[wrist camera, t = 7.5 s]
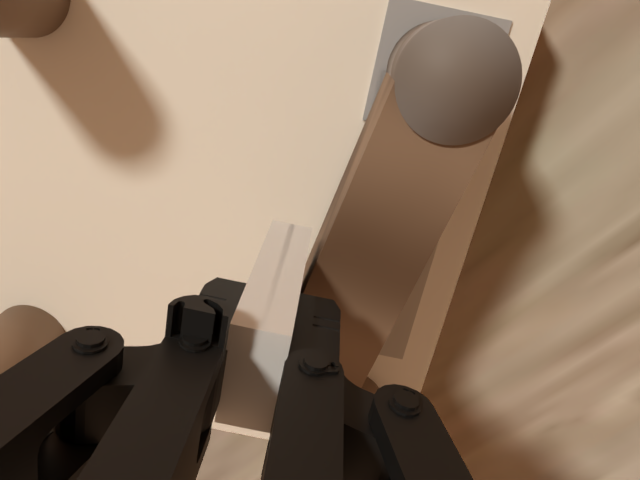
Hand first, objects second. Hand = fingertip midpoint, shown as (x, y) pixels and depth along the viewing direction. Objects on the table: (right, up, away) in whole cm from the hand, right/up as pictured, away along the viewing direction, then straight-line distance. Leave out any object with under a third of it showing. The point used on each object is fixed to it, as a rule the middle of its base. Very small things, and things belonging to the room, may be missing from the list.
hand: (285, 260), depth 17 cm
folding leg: (+3, +2, +1) cm, 4 cm away
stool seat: (-3, +2, +5) cm, 6 cm away
